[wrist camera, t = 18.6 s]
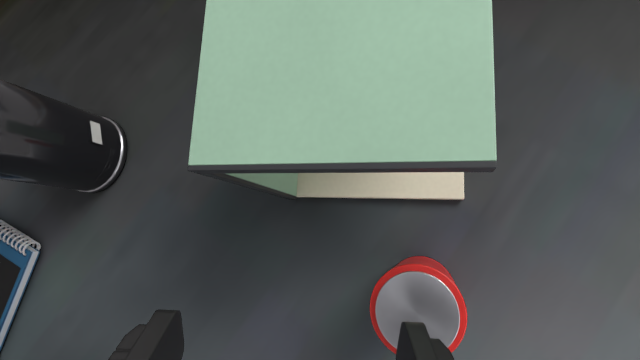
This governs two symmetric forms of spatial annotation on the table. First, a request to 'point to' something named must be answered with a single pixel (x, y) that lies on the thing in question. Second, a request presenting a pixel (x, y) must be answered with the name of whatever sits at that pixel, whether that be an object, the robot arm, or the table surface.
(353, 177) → the mint green cubby
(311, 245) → the table surface
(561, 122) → the table surface
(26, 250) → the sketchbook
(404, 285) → the red can
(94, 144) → the robot arm
